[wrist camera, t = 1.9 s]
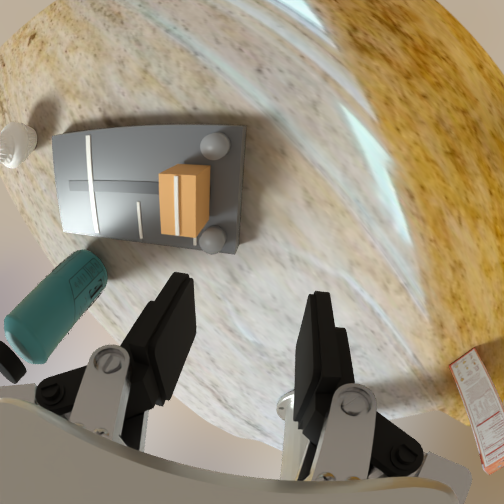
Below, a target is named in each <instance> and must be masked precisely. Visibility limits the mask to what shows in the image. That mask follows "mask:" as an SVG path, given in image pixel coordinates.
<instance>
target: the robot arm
mask: <svg viewBox="0 0 504 504" xmlns="http://www.w3.org/2000/svg"><path fill="white" fill-rule="evenodd" d="M195 335H196V316H195V300H194V281H193V279H192V278H189V275H188V274H185V273H179V272H174V273H173V274H172V275H171V277H170V278H169V280H168V281H167V283H166V284H165V286H164V287H163V289H162V290H161V292H160V294H159V295H158V297H157V298H156V300H155V301H149V303H148V304H147V305H146V307H145V308H144V310H143V311H142V313H141V314H140V316H139V317H138V319H137V320H136V322H135V323H134V325H133V327H132V328H131V330H130V331H129V333H128V334H127V336H126V338H125V339H124V341H123V342H122V344H121V346H117V345H105V346H102V347H100V348H98V349H97V350H96V351H95V352H93V354H92V355H91V357H90V359H89V362H88V365H87V366H84V367H81V368H77V369H74V370H71V371H68V372H65V373H61V374H58V375H55V376H52V377H48V378H46V379H44V380H43V381H42V382H40V384H39V385H38V386H36V384H35V383H34V384H24V385H13V386H2V387H0V504H464V502H465V499H466V497H467V494H468V491H469V489H470V486H471V481H472V477H471V473H470V471H469V470H468V469H467V468H466V467H464V466H462V465H459V464H457V463H454V462H452V461H450V460H447V459H445V458H443V457H441V456H438V455H436V454H434V453H432V452H428V453H425V452H423V449H422V448H421V445H420V444H419V443H418V442H417V441H416V440H415V439H413V438H412V437H410V436H409V435H408V434H406V433H405V432H404V431H402V430H401V429H400V428H398V427H397V426H396V425H394V424H393V423H391V422H390V421H389V420H388V419H386V418H385V417H383V416H382V415H381V414H380V413H378V412H377V411H376V408H377V403H376V398H375V396H374V394H373V393H372V392H371V391H370V389H368V388H367V387H365V386H363V385H360V384H355V381H354V374H353V367H352V361H351V355H350V349H349V343H348V337H347V332H346V329H345V328H339V327H335V323H334V317H333V310H332V304H331V298H330V293H329V292H320V291H315V292H314V295H313V294H309V296H308V299H307V304H306V308H305V312H304V316H303V320H302V324H301V328H300V332H299V336H298V340H297V344H296V355H295V387H294V391H291V392H289V393H287V394H285V395H284V396H283V397H281V398H280V400H279V401H278V403H277V414H278V415H279V417H280V418H282V419H283V420H285V430H284V442H283V454H282V464H281V474H280V480H274V479H264V478H254V477H247V476H239V475H232V474H226V473H220V472H216V471H211V470H206V469H201V468H197V467H192V466H188V465H184V464H180V463H177V462H173V461H169V460H166V459H163V458H159V457H156V456H153V455H150V454H147V453H144V446H145V437H146V429H147V421H148V413H149V410H150V409H152V408H154V406H155V404H156V405H159V406H163V405H164V403H165V400H170V399H171V397H172V394H173V391H174V389H175V386H176V384H177V381H178V378H179V376H180V373H181V371H182V368H183V366H184V363H185V361H186V358H187V356H188V353H189V351H190V348H191V346H192V343H193V341H194V338H195Z"/></svg>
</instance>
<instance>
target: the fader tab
mask: <svg viewBox="0 0 504 504" xmlns="http://www.w3.org/2000/svg"><path fill="white" fill-rule="evenodd" d="M209 201H210V165H192V164H177V165H175V166H173V167H171V168H169V169H167V170H165V171H163V172H161V173H159V202H160V221H161V234H167V235H176V236H184V237H192V238H196V237H197V236H198V234H199V233H200V231H201V230H202V229H203V227H204V226H205V225H206V223H207V222H208V220H209Z"/></svg>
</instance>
